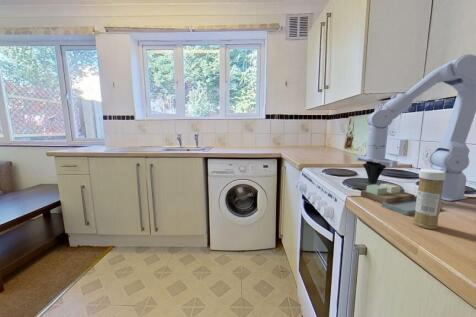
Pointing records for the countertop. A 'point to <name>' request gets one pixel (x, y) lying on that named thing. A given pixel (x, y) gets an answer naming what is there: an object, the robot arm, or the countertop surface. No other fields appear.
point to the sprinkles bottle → (429, 198)
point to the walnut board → (388, 197)
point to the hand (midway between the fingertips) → (372, 183)
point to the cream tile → (391, 187)
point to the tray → (403, 207)
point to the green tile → (376, 189)
